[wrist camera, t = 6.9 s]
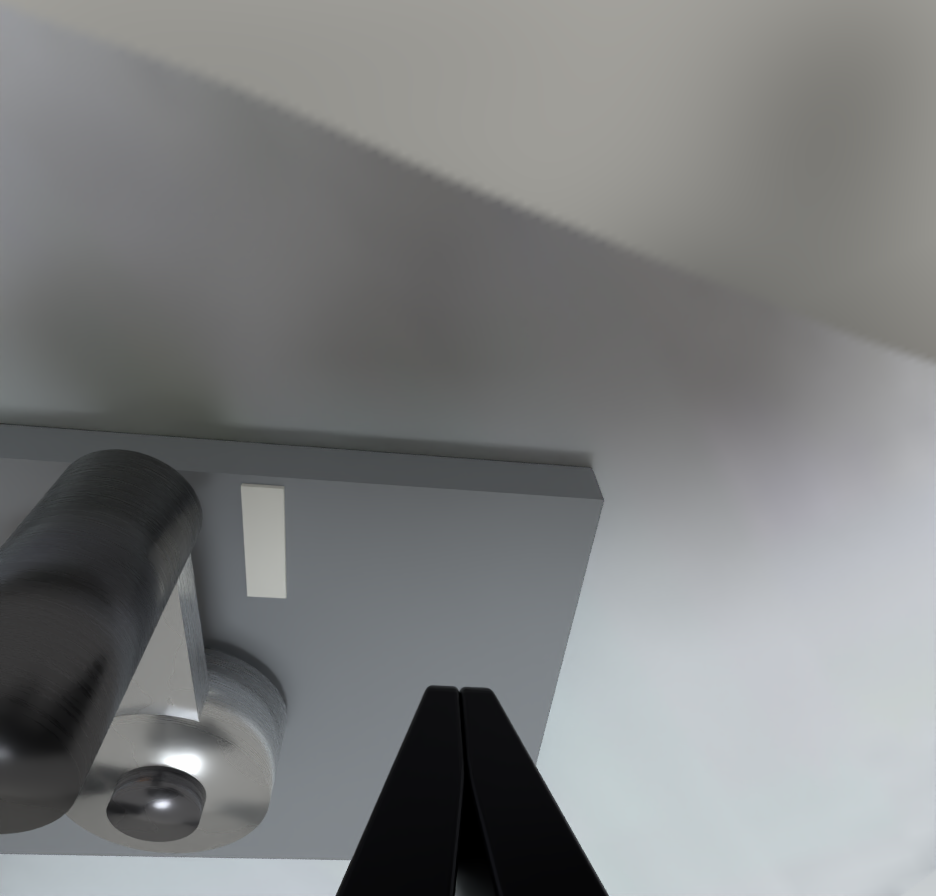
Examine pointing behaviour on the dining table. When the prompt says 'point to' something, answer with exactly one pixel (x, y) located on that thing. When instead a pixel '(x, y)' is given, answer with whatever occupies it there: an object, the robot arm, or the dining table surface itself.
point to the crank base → (351, 603)
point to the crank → (125, 671)
